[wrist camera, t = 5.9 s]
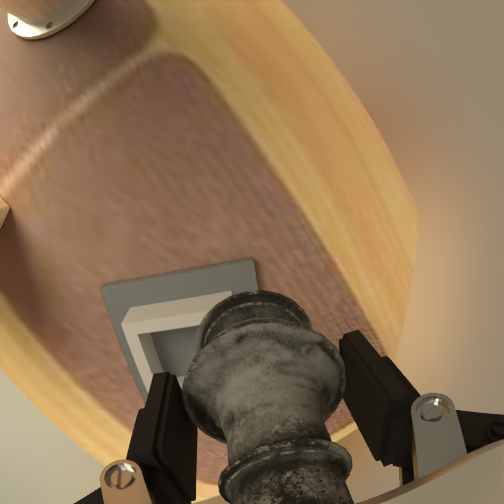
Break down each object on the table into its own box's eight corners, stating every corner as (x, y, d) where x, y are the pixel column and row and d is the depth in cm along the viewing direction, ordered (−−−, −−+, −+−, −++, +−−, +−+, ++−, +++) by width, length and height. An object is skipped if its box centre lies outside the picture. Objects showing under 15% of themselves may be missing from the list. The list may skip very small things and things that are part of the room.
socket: (103, 284, 29) (87, 301, 25) (252, 257, 30) (258, 272, 26) (147, 400, 33) (141, 425, 29) (273, 382, 34) (280, 407, 30)
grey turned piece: (331, 287, 13) (529, 525, 2) (306, 394, 15) (390, 611, 3) (191, 277, 13) (139, 632, 1) (187, 391, 14) (177, 640, 2)
